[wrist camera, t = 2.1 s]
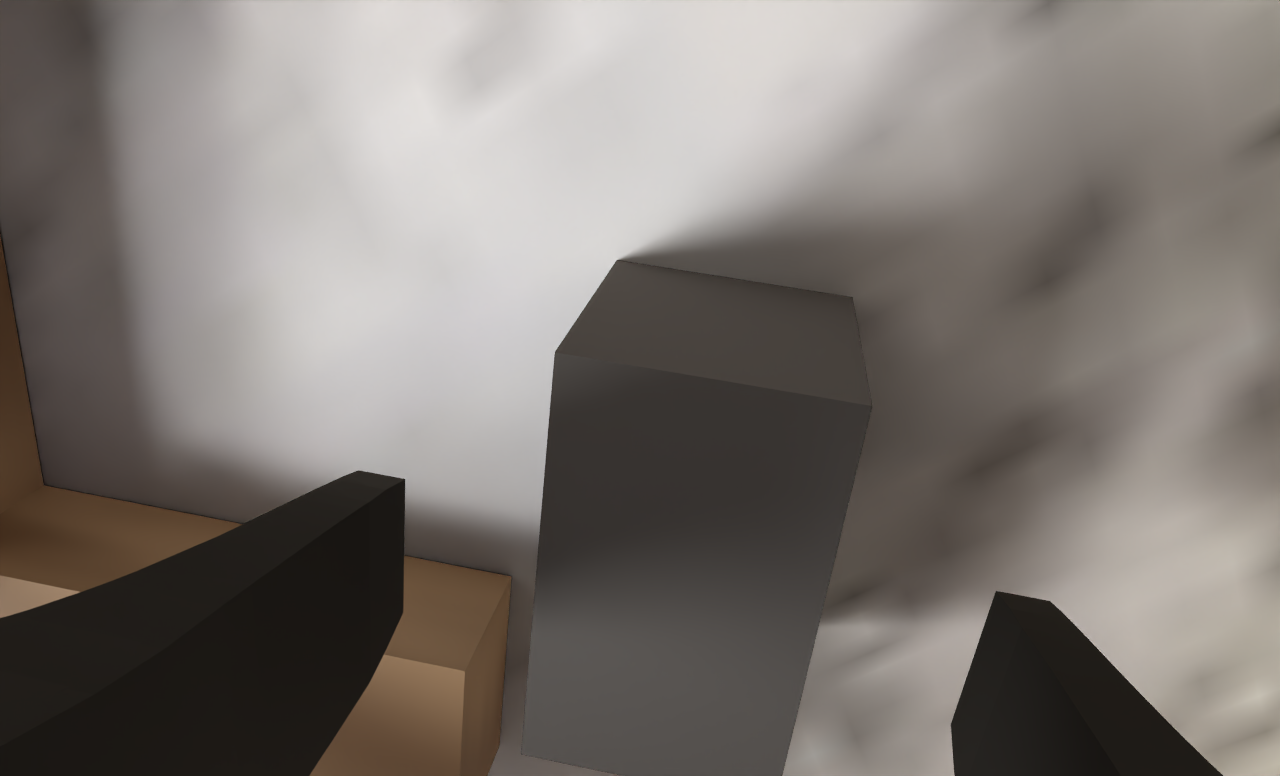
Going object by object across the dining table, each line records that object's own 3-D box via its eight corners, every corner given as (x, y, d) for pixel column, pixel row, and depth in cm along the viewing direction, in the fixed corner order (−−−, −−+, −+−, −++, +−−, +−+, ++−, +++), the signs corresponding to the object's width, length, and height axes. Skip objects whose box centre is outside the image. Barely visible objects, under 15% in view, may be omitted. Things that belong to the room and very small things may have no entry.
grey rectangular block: (779, 622, 16) (774, 807, 12) (582, 584, 16) (520, 754, 13) (851, 295, 13) (873, 405, 10) (618, 258, 14) (555, 351, 10)
